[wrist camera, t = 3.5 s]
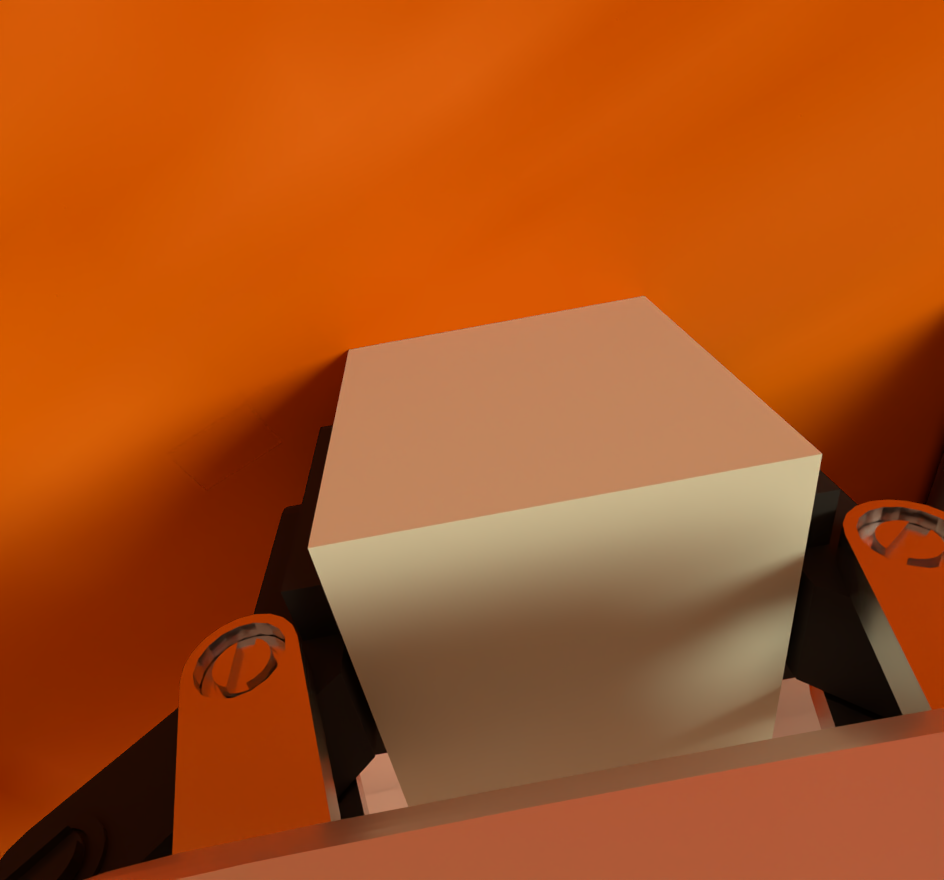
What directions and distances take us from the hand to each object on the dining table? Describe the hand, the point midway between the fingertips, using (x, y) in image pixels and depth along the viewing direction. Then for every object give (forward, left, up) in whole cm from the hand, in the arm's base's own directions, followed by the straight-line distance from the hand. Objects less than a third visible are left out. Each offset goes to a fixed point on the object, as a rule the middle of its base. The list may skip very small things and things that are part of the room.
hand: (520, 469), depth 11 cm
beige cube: (0, 0, -1) cm, 1 cm away
